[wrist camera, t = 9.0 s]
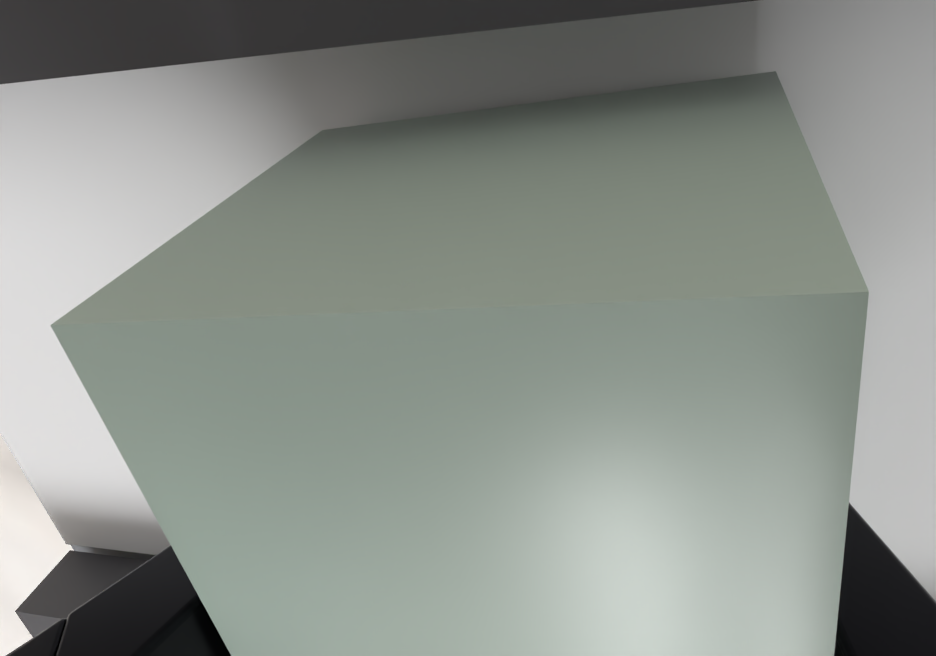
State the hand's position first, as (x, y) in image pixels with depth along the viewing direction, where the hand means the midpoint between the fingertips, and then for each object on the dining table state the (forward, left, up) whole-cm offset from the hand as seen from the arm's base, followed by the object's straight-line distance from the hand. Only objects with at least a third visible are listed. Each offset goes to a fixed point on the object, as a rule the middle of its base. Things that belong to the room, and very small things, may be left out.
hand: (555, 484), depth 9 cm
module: (0, 0, -2) cm, 2 cm away
